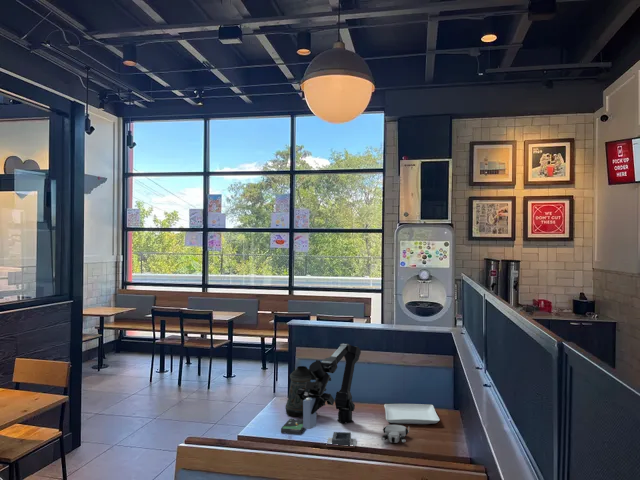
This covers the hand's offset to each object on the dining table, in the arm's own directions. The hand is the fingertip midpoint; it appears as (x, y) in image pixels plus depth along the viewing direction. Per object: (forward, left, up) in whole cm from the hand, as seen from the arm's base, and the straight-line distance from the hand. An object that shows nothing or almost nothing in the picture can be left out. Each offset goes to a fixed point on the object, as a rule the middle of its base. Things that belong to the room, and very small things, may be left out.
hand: (308, 413), depth 216 cm
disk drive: (-3, -21, -14) cm, 25 cm away
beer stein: (-17, -42, -14) cm, 47 cm away
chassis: (-13, +8, -13) cm, 20 cm away
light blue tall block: (-1, -1, -7) cm, 7 cm away
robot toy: (-38, +15, -14) cm, 43 cm away
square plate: (-64, -6, -14) cm, 65 cm away
